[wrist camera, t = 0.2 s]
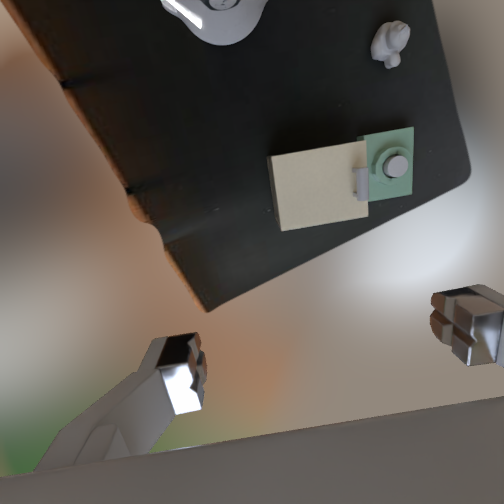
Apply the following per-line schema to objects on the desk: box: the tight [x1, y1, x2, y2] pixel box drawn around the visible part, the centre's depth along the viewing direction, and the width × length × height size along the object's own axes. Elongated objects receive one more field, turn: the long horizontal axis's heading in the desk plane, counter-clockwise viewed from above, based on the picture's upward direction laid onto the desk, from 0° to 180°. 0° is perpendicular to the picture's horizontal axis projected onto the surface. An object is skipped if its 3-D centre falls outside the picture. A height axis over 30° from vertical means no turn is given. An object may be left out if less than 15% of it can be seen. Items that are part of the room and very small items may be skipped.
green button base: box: [357, 127, 414, 202], centre depth 52 cm, size 12×9×5 cm
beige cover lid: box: [271, 140, 369, 231], centre depth 45 cm, size 15×13×5 cm
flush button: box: [383, 156, 408, 177], centre depth 49 cm, size 4×4×2 cm
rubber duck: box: [371, 21, 410, 68], centre depth 44 cm, size 5×7×8 cm
